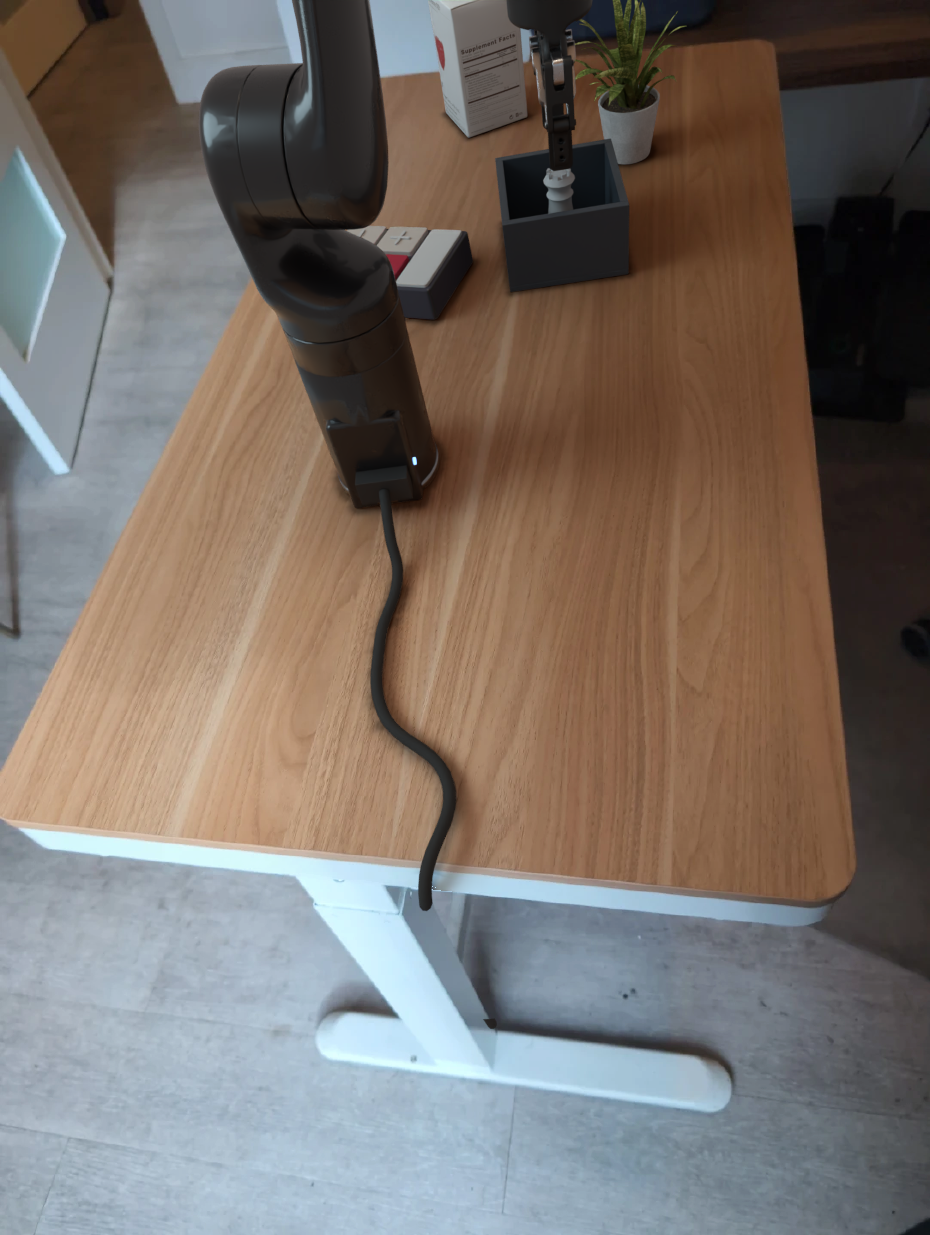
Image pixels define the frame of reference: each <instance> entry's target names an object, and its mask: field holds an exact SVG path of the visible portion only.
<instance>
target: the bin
mask: <svg viewBox="0 0 930 1235" xmlns="http://www.w3.org/2000/svg"><path fill="white" fill-rule="evenodd" d="M572 150H573V166H572V167H571V168H570V169H571V172H572V173H573V174H574V176H575V179H574V181H573V183H572V184H571V189H572V190H573V194H572V206H573V210H568V211H562V212H556V213H549V214H548V212H549V199H548V198H547V192H548V188H547V186H546V185H545V184H544V182H543V180H544V178H545V176H546V175H547V174H546V170H547V169H548V168H549V169H550V171H551V168H550V161H549V148H546V149H540V150H539V149H538V150H534V151H529V152H522V153H517V154H516V153H515V154H511V155H505V156H499V157H498V156H497V157H495V158H494V162H495V170H496V180H497V189H498V190H497V191H498V199H499V209H500V217H501V228H502V236H503V242H504V243H503V245H504V252H505V260H506V270H507V278H508V285H509V287H508V288H509V292H510V293H514V292H521V291H527V290H528V291H529V290H533V289H534V290H535V289H540V288H547V287H555V286H558V285H567V284H574V283H579V282H586V281H592V280H593V281H594V280H598V279H599V280H601V279H605V278H612V277H619V276H625V275H629V273H630V270H629V269H630V267H629V265H630V203H629V198H628V195H627V191H626V188H625V183H624V180H623V177H622V173H621V170H620V166H619V164H618V162H617V158H616V155H615V151H614V148H613V144H612V141H611V138H610V139H604V138H603V139H598V140H593V141H586V142H581V143H575V144H572Z"/></svg>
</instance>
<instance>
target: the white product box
mask: <svg viewBox="0 0 930 1235" xmlns="http://www.w3.org/2000/svg"><path fill="white" fill-rule="evenodd" d="M427 2H428V10H429V15H430V21H431V28H432V34H433V41H434V47H435V53H436V60H437V65H438V71H439V79H440V84H441V90H442V97H443V102H444V109H445V110H444V111H445V114H447V116H448V117H449V118H450V119H451V120H452V121H453V122H454V124H455V125H456V126H457V127H458V128H459V129H460V130H461V131H462V133H464V135H465V136H466V137H467V138H472V137H475V136H478V135H481V134H483V133H486V132H489V131H491V130H492V131H493V130H496V129H498V128H501V127H503V126H506V125H509V124H512V123H514V122H517V121H521V120H523V119H525V118H528V105H527V104H528V103H527V94H526V82H525V81H526V80H525V79H526V78H525V69H524V54H523V43H522V29H521V28H518V27H516V26H515V25H513V24H512V23H511V22H510V20H509V18H508V13H507V2H506V0H427Z"/></svg>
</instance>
